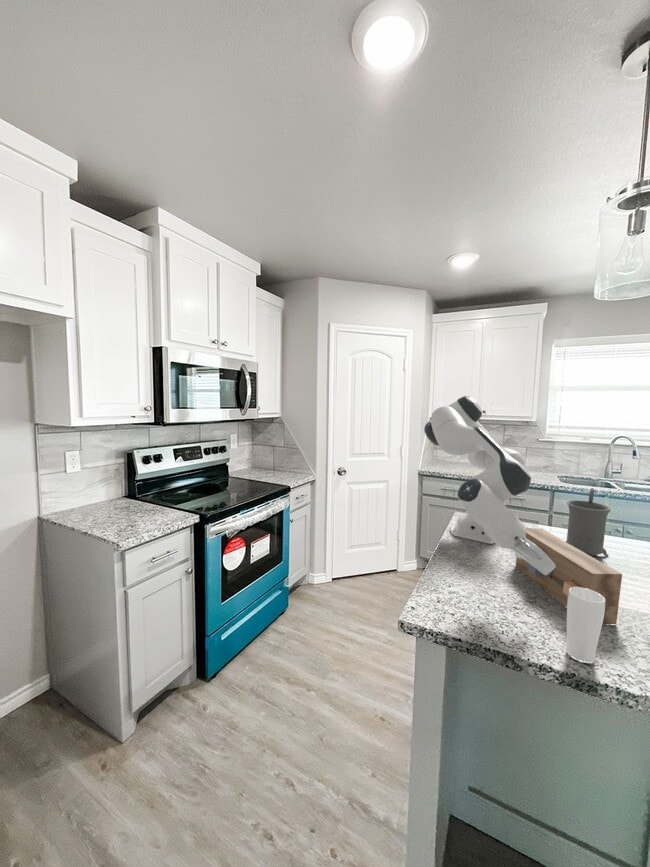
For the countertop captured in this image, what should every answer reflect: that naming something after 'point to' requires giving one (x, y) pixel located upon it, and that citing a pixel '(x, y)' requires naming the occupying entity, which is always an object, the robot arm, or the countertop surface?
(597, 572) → the console
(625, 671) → the countertop surface
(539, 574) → the charcoal key
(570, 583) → the terracotta key
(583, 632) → the drinking glass
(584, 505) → the grey footed pot
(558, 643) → the countertop surface
